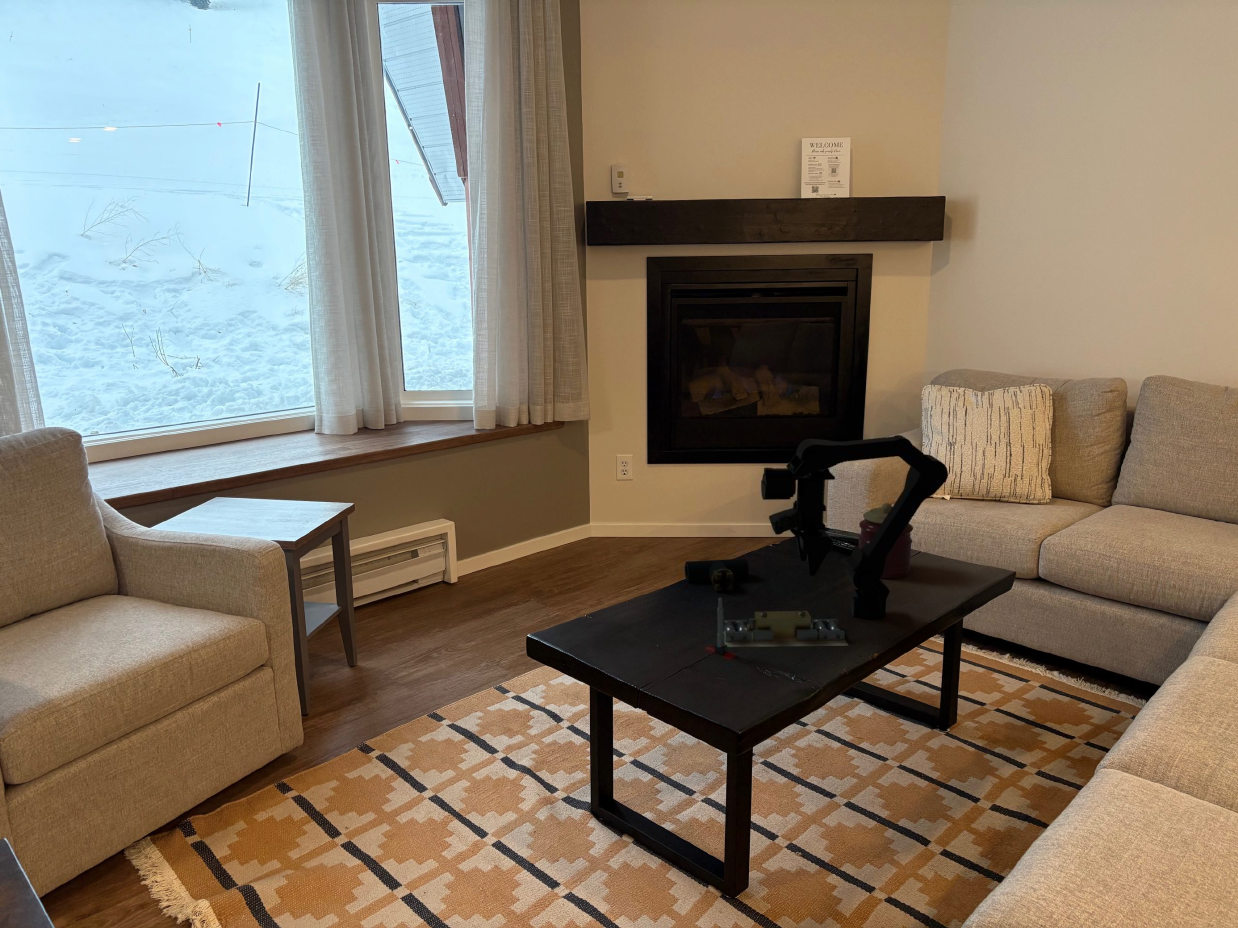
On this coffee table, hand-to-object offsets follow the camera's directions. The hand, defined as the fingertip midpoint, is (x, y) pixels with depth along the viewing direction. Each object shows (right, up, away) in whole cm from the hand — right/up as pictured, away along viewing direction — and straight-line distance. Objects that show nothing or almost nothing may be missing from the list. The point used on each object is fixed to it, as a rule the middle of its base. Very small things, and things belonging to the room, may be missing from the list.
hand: (807, 568), depth 193 cm
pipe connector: (-16, -7, +25) cm, 30 cm away
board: (-7, -14, -7) cm, 17 cm away
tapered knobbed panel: (-7, -13, -7) cm, 16 cm away
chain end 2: (0, -13, -7) cm, 15 cm away
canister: (+26, -5, +32) cm, 42 cm away
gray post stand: (-23, -17, -18) cm, 34 cm away
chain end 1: (-14, -13, -7) cm, 20 cm away
